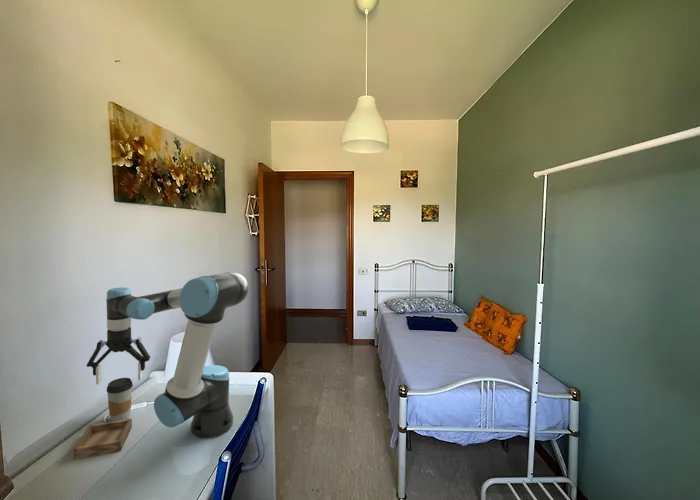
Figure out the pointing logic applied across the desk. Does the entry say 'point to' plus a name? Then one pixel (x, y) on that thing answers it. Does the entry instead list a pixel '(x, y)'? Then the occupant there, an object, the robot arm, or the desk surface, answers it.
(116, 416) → the coffee cup
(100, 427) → the tray
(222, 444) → the desk surface
